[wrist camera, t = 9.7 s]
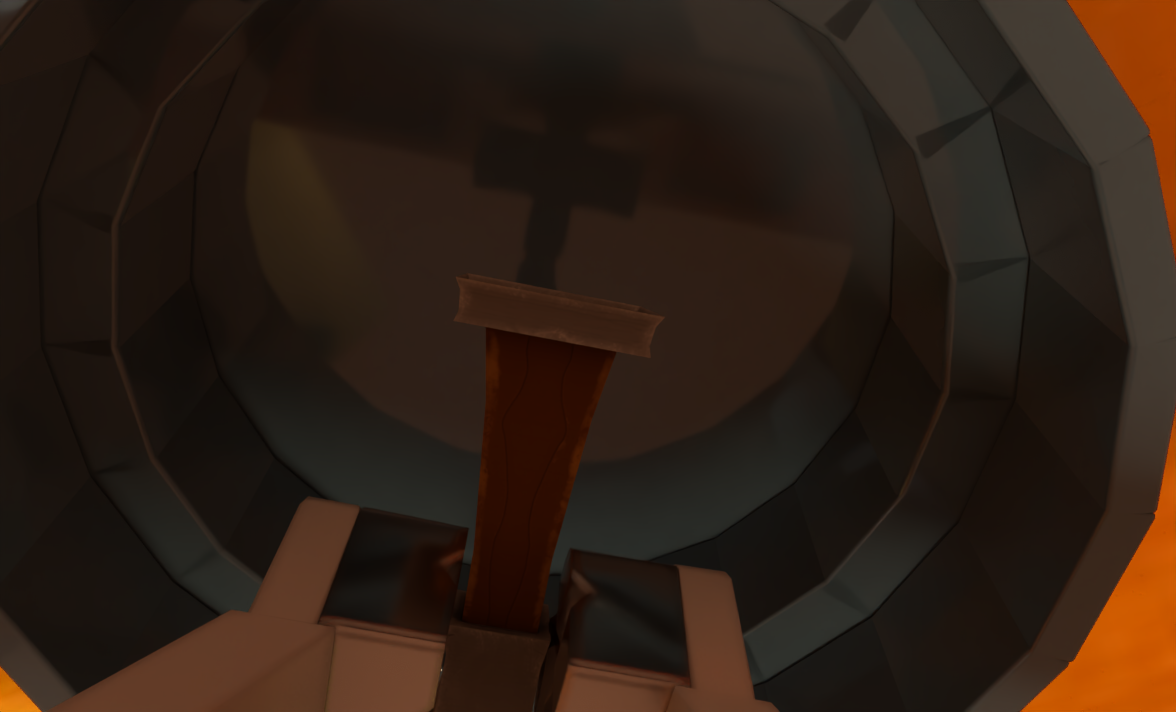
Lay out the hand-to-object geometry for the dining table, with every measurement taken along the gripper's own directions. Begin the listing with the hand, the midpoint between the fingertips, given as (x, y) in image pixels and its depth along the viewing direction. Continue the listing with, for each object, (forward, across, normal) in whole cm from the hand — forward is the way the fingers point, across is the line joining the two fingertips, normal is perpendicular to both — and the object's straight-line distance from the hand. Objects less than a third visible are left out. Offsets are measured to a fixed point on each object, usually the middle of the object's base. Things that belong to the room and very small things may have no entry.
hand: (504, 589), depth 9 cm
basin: (+8, 0, 0) cm, 8 cm away
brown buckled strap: (+2, 0, +1) cm, 3 cm away
